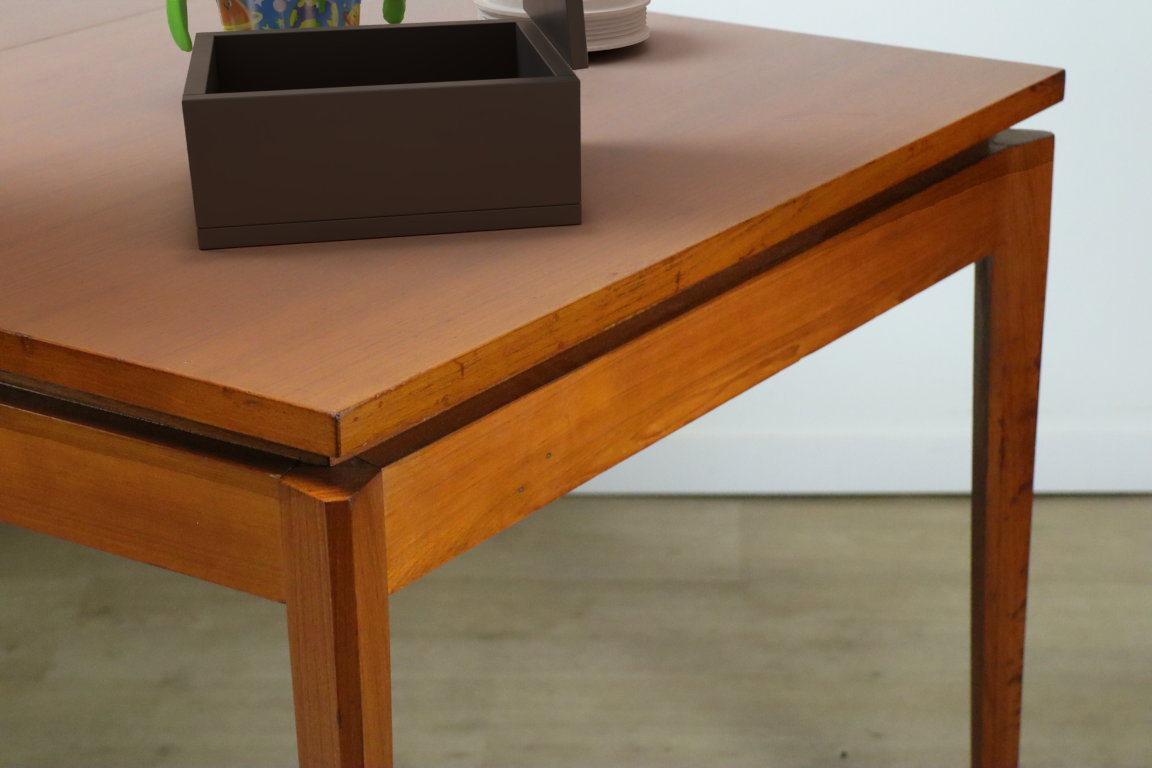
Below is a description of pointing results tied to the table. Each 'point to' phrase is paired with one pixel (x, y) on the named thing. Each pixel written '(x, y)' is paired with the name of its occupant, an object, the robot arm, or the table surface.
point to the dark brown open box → (380, 132)
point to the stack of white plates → (587, 20)
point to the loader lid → (562, 28)
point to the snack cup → (278, 15)
